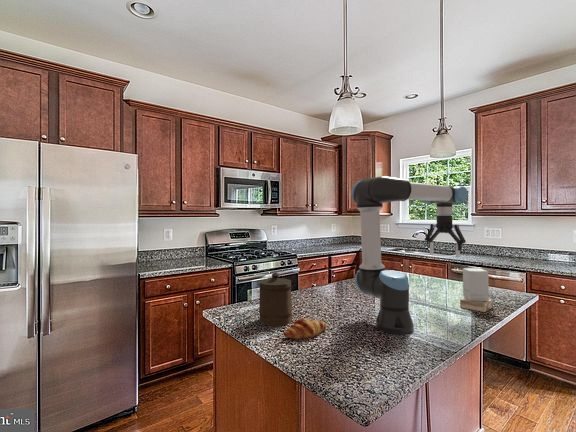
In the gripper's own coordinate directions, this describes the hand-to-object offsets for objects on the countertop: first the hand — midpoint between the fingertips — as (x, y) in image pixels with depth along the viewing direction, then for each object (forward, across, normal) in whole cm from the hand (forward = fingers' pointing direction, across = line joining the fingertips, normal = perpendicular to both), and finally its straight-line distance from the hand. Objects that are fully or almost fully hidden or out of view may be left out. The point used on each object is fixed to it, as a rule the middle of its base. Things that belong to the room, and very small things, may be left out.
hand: (444, 255), depth 164 cm
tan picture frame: (+26, -12, -8) cm, 30 cm away
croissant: (+28, +17, +82) cm, 88 cm away
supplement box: (+22, -12, -8) cm, 26 cm away
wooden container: (+28, +38, +82) cm, 94 cm away
